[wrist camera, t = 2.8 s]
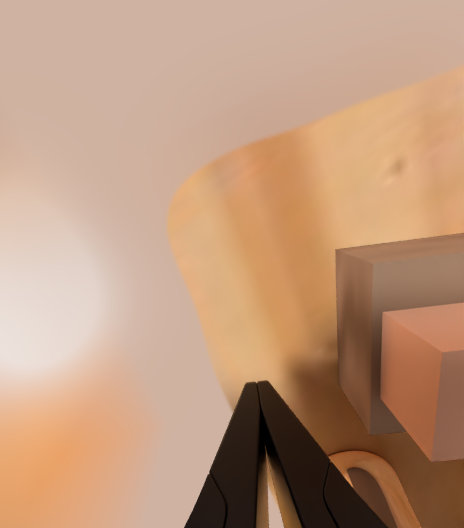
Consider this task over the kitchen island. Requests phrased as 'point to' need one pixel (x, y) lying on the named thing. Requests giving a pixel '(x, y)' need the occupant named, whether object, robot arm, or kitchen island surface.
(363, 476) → the beer glass
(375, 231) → the kitchen island surface
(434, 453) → the terracotta tile
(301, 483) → the robot arm
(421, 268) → the dark walnut board
